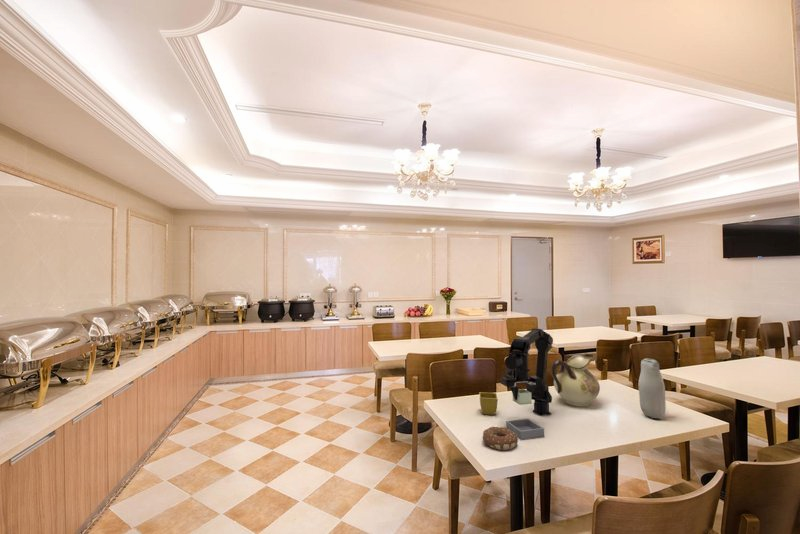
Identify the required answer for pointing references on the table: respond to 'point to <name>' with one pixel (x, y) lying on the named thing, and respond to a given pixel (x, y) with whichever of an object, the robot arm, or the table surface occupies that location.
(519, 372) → the robot arm
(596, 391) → the pitcher
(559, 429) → the table surface
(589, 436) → the table surface
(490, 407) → the flower pot
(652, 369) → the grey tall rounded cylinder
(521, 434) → the big crate
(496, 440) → the donut
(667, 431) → the table surface
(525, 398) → the small crate
